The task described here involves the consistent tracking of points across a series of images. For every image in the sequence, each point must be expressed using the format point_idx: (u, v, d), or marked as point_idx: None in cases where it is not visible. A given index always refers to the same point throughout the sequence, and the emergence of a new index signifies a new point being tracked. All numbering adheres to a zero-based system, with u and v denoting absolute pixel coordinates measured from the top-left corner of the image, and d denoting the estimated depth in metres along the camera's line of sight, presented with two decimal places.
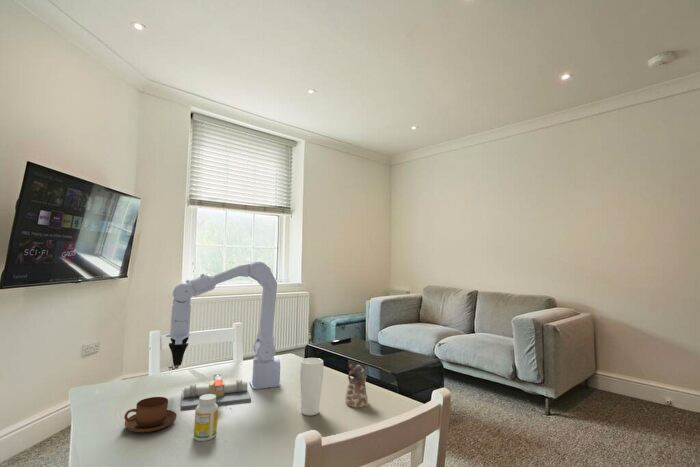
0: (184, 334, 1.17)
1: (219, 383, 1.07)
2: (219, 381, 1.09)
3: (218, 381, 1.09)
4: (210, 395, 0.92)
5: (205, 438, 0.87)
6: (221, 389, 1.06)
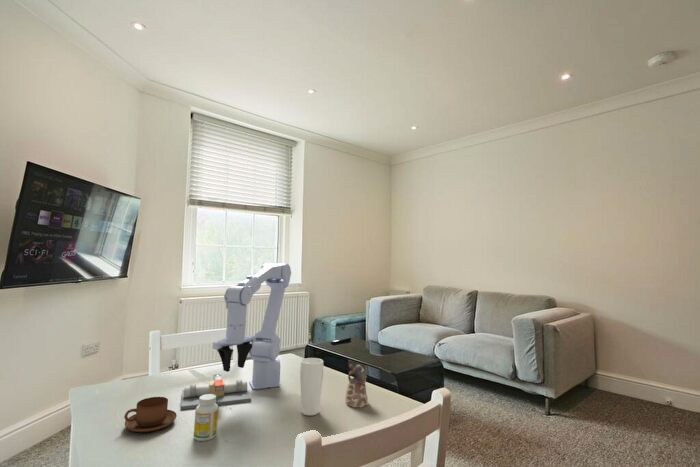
0: (231, 340, 1.09)
1: (219, 383, 1.07)
2: (219, 381, 1.09)
3: (218, 381, 1.09)
4: (210, 395, 0.92)
5: (205, 438, 0.87)
6: (221, 389, 1.06)
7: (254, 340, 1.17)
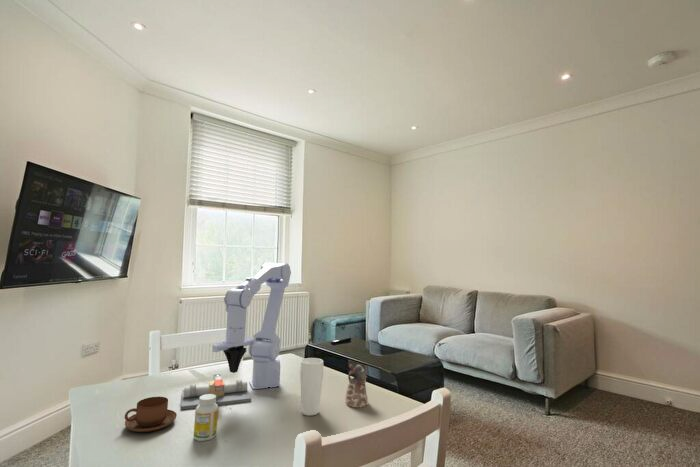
0: (231, 343, 1.09)
1: (219, 383, 1.07)
2: (219, 381, 1.09)
3: (218, 381, 1.09)
4: (210, 395, 0.92)
5: (205, 438, 0.87)
6: (221, 389, 1.06)
7: (254, 343, 1.17)
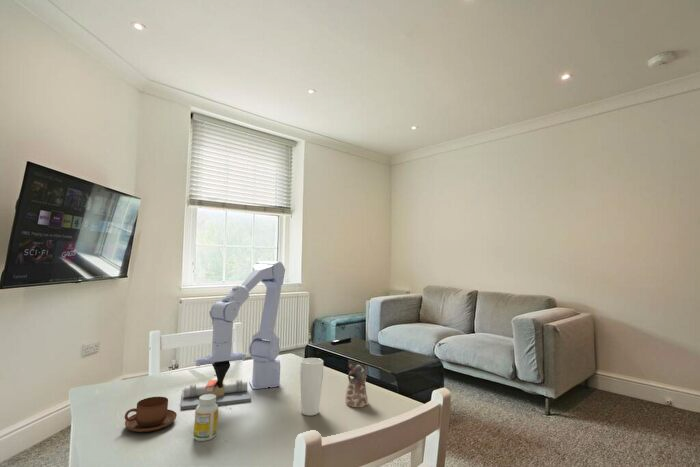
0: (214, 357, 1.07)
1: (210, 384, 1.07)
2: (213, 381, 1.09)
3: (212, 381, 1.09)
4: (210, 395, 0.91)
5: (205, 438, 0.87)
6: (211, 390, 1.05)
7: (243, 358, 1.13)
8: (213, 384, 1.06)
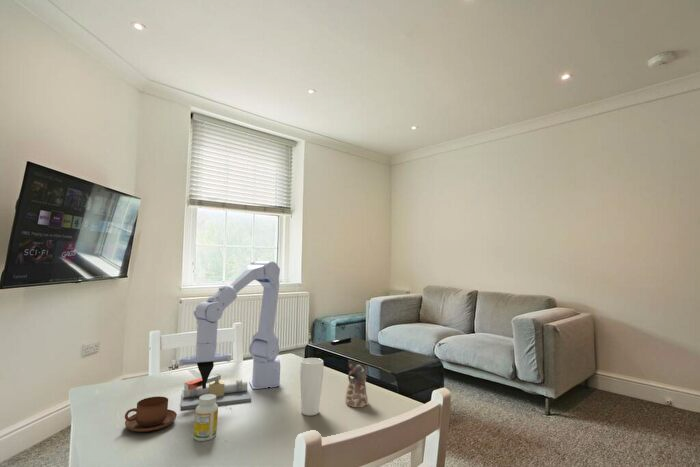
0: (197, 357, 1.07)
1: (191, 382, 1.08)
2: (198, 380, 1.09)
3: (198, 380, 1.10)
4: (210, 395, 0.91)
5: (205, 438, 0.87)
6: (187, 388, 1.06)
7: (228, 359, 1.11)
8: (192, 382, 1.07)
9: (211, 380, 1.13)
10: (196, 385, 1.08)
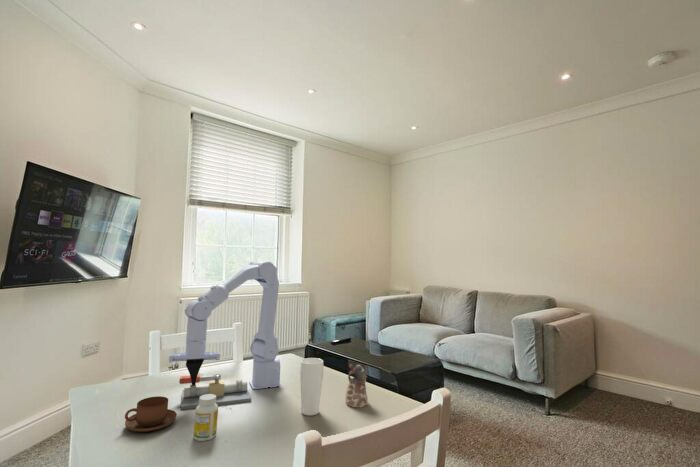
0: (185, 354, 1.09)
1: (185, 377, 1.12)
2: None
3: None
4: (210, 395, 0.91)
5: (205, 438, 0.87)
6: None
7: (217, 358, 1.12)
8: (185, 377, 1.12)
9: (207, 379, 1.14)
10: (188, 381, 1.11)
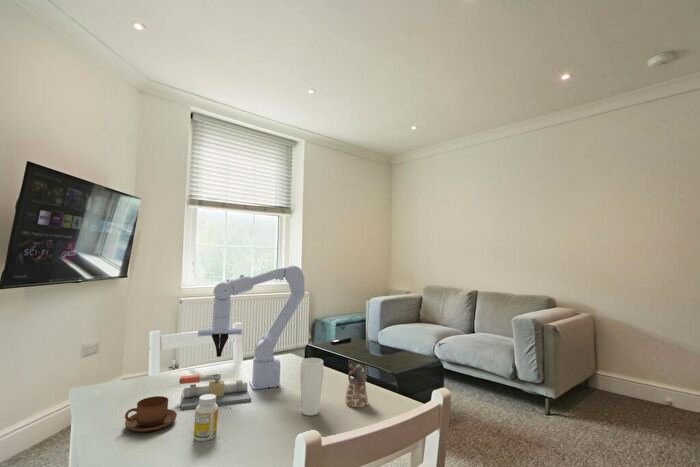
0: (213, 330, 1.24)
1: (185, 377, 1.12)
2: (193, 376, 1.13)
3: (193, 376, 1.13)
4: (210, 395, 0.91)
5: (205, 438, 0.87)
6: None
7: (240, 333, 1.28)
8: (185, 377, 1.12)
9: (207, 379, 1.14)
10: (188, 381, 1.11)
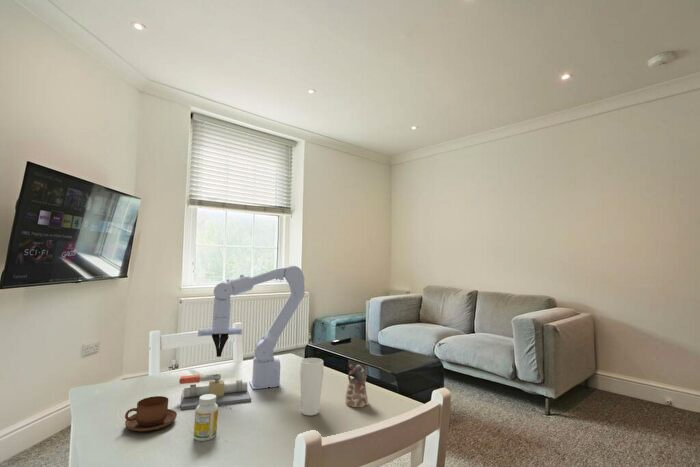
0: (213, 330, 1.24)
1: (185, 377, 1.12)
2: (193, 376, 1.13)
3: (193, 376, 1.13)
4: (210, 395, 0.92)
5: (205, 438, 0.87)
6: None
7: (240, 333, 1.28)
8: (185, 377, 1.12)
9: (207, 379, 1.14)
10: (188, 381, 1.11)
